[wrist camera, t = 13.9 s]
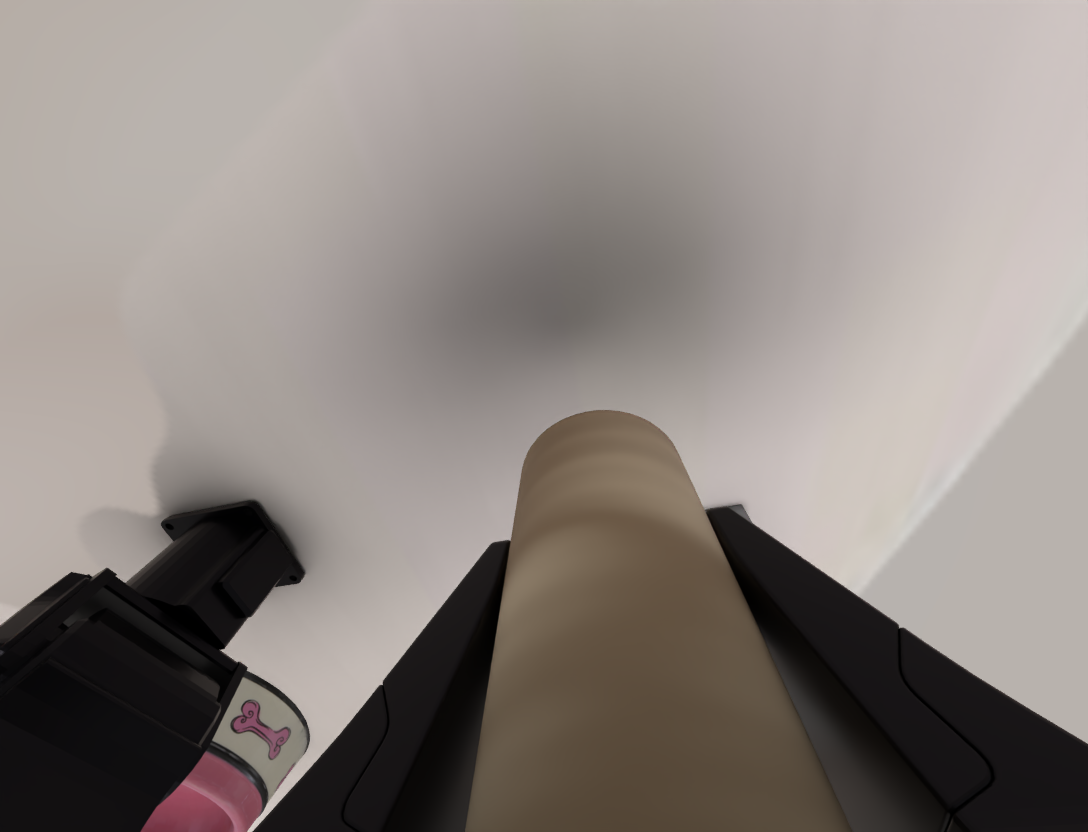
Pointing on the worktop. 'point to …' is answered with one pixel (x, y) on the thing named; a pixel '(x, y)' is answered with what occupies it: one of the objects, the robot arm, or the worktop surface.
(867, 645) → the robot arm
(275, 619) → the worktop surface
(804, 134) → the worktop surface
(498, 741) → the dowel
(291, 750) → the dog bowl
